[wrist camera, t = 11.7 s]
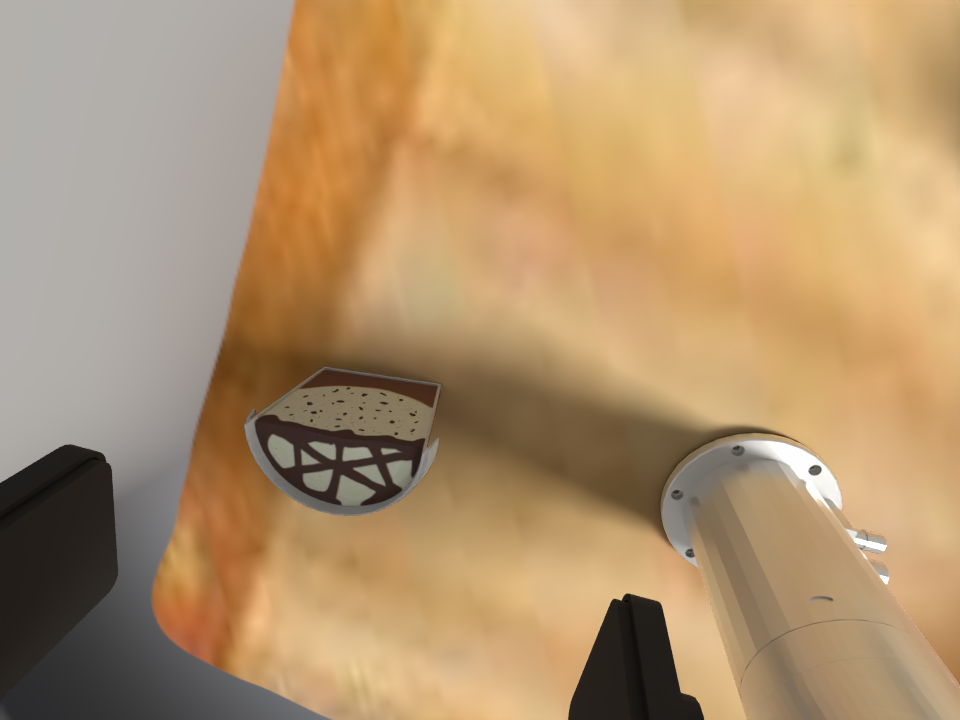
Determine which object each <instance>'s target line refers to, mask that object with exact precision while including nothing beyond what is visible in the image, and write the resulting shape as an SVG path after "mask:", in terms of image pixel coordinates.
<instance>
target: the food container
mask: <svg viewBox="0 0 960 720" xmlns="http://www.w3.org/2000/svg"><path fill="white" fill-rule="evenodd" d="M441 385H442V384H439V383H432V382H426V381H419V380H412V379H405V378H399V377H392V376H385V375H379V374H372V373H365V372H358V371H352V370H345V369H338V368H332V367H325V366H324V367H323V368H321V369H320V370H318V371H317V372H316V373H314V374H313V375H311V376H310V377H309V378H307V379H306V380H304V381H303V382H302V383H300V384H299V385H297V386H296V387H295V388H293V389H292V390H290V391H289V392H288V393H286V394H285V395H283V396H282V397H281V398H279V399H278V400H277V401H275V402H274V403H272V404H271V405H270V406H268V407H267V408H265V409H264V410H263V411H261V412H260V413H258V414H257V415H256V409H252V411H251V412H250V414H249V415H248V417H247V418H246V423H245V424H244V427H245V433H246V438H247V441H248V444H249V448H250V450H251V452H252V454H253V456H254V458H255V460H256V462H257V464H258V465H259V467H260V468H261V470H262V471H263V473H264V474H265V475H266V476H267V477H268V478H269V479H270V481H271V482H272V483H273V484H274V485H276V486H277V487H278V488H279V489H280V490H281V491H282V492H284V493H285V494H286V495H288V496H289V497H291V498H292V499H294V500H295V501H297V502H299V503H301V504H303V505H305V506H307V507H310V508H312V509H315V510H318V511H321V512H325V513H329V514H334V515H343V516H356V515H364V514H370V513H374V512H376V511H379V510H382V509H385V508H386V507H388V506H390V505H392V504H394V503H396V502H398V501H399V500H401V499H402V498H403V497H405V496H406V495H407V494H408V493H410V491H411V490H412V489H413V488H414V487H415V486H416V485H417V484H418V482H419V481H420V480H421V479H422V478H423V477H424V476H425V474H426V473H427V471H428V470H429V468H430V466H431V465H432V463H433V461H434V458H435V455H436V452H437V449H438V443H439V438H436V439H435V440H434V442H433V443H432V444H431V445H430V446H429V447H427V446H428V442H429V438H430V434H431V430H432V425H433V421H434V417H435V413H436V409H437V405H438V400H439V396H440V391H441Z"/></svg>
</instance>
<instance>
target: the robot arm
mask: <svg viewBox="0 0 960 720" xmlns="http://www.w3.org/2000/svg"><path fill="white" fill-rule="evenodd" d="M735 446H736V447H735ZM842 507H843V502H842V494H841V489H840V487H839V484H838V482H837V479H836V477H835V476H834V474H833V473H832V472H831V470H830V469H829V467H828V466H827V465H826V464H825V463H824V462H823V460H822V459H821V458H820V457H819V456H818V455H817V454H816V453H814V452H813V451H811V450H810V449H809V448H807V447H806V446H804V445H802V444H800V443H798V442H796V441H794V440H791V439H789V438H785V437H781V436H777V435H773V434H762V433H747V434H736V435H732V436H728V437H724V438H720V439H717V440H715V441H712V442H710V443H708V444H705V445H703V446H702V447H700V448H698V449H697V450H695V451H694V452H692V453H690V454H689V455H688V456H687V457H686V458H685V459H684V460H682V461H681V462H680V463H679V464H678V465H677V467H676V468H675V469H674V471H673V472H672V473H671V475H670V476H669V478H668V480H667V482H666V484H665V486H664V488H663V493H662V497H661V518H662V522H663V527H664V530H665V532H666V535H667V537H668V540H669V541H670V543H671V544H672V546H673V547H674V549H675V550H676V551H677V552H678V553H679V554H680V555H681V556H682V558H684V559H685V560H686V561H688V562H689V563H691V564H692V565H694V566H695V567H697V568H699V571H700V574H701V577H702V580H703V583H704V586H705V590H706V593H707V596H708V599H709V602H710V605H711V608H712V611H713V615H714V618H715V621H716V624H717V627H718V630H719V633H720V636H721V639H722V643H723V646H724V649H725V652H726V655H727V658H728V661H729V664H730V668H731V671H732V674H733V677H734V680H735V683H736V686H737V689H738V692H739V696H740V699H741V702H742V705H743V708H744V711H745V714H746V718H747V720H960V684H959V683H958V681H957V680H956V679H955V677H954V676H953V675H952V673H951V672H950V671H949V669H948V668H947V667H946V665H945V664H944V662H943V661H942V660H941V658H940V657H939V656H938V654H937V653H936V652H935V650H934V649H933V648H932V646H931V645H930V644H929V642H928V641H927V639H926V638H925V637H924V635H923V634H922V633H921V631H920V630H919V629H918V627H917V626H916V624H915V623H914V622H913V620H912V619H911V618H910V616H909V615H908V614H907V612H906V611H905V610H904V608H903V607H902V605H901V604H900V603H899V601H898V600H897V599H896V597H895V596H894V595H893V593H892V592H891V590H890V589H889V588H888V586H887V585H886V584H887V582H888V578H889V575H888V569H887V567H886V565H885V564H883V563H882V562H880V561H876V560H872V559H868V558H866V556H865V555H864V554H863V552H862V551H861V550H865V551H869V552H873V553H877V554H881V553H882V552H883V551H884V550H885V547H886V540H885V538H884V536H883V535H881V534H878V533H874V532H870V531H866V530H859V529H855V528H853V526H852V525H851V524H850V522H849V521H848V520H847V518H846V517H845V516H844V514H843V513H842ZM860 549H861V550H860ZM117 576H118V565H117V549H116V533H115V516H114V501H113V484H112V469H111V466H110V465H109V464H108V463H106V459H105V456H104V455H103V454H102V453H100V452H97V451H93V450H90V449H86V448H82V447H78V446H75V445H71V444H70V445H64V446H62V447H59V448H58V449H56V450H54V451H53V452H51V453H49V454H48V455H46V456H44V457H43V458H41V459H40V460H38V461H36V462H34V463H33V464H31V465H30V466H28V467H26V468H25V469H23V470H22V471H19V472H18V473H16V474H15V475H13V476H11V477H10V478H8V479H6V480H5V481H3V482H1V483H0V700H1V699H2V698H3V697H4V696H5V695H6V694H7V693H8V692H9V691H10V690H11V689H12V688H13V687H14V686H15V685H16V684H17V683H18V682H19V681H20V680H21V679H22V678H23V677H24V676H25V675H26V674H27V673H28V672H29V671H30V670H31V669H32V668H33V667H34V666H35V665H36V664H37V663H38V662H39V661H40V660H41V659H42V658H43V657H44V656H45V655H46V654H47V653H48V652H49V651H50V650H51V649H52V648H53V647H54V646H55V645H56V644H57V643H59V641H60V640H62V638H64V637H65V636H66V635H67V634H68V633H69V632H70V630H72V628H74V627H75V626H76V625H77V623H79V622H80V621H81V620H82V619H83V618H84V617H85V616H86V615H87V614H88V613H89V612H90V611H91V610H92V609H93V608H94V607H95V606H96V605H97V604H98V603H99V602H100V601H101V600H102V599H103V598H104V597H105V596H106V595H107V594H108V593H109V591H110V590H111V589H112V587H113V586H114V584H115V582H116V579H117ZM568 720H704V716H703V713H702V710H701V707H700V704H699V703H698V701H697V700H696V698H695V697H693V696H690V695H687V694H683V693H681V692H680V687H679V683H678V678H677V673H676V669H675V664H674V659H673V655H672V650H671V645H670V641H669V636H668V632H667V627H666V622H665V618H664V613H663V609H662V606H661V604H660V603H659V602H658V601H654V600H651V599H647V598H643V597H640V596H636V595H632V594H625V595H624V597H623V599H622V601H621V600H617V599H613V600H612V601H611V603H610V606H609V608H608V611H607V613H606V616H605V618H604V621H603V623H602V626H601V628H600V631H599V633H598V636H597V638H596V641H595V643H594V645H593V648H592V650H591V653H590V655H589V658H588V660H587V663H586V665H585V668H584V670H583V673H582V675H581V678H580V680H579V683H578V685H577V688H576V690H575V693H574V695H573V698H572V701H571V704H570V709H569V717H568Z"/></svg>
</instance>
